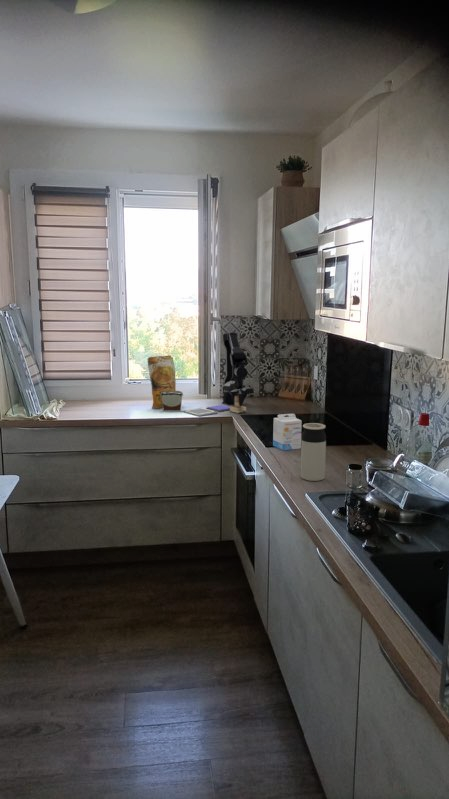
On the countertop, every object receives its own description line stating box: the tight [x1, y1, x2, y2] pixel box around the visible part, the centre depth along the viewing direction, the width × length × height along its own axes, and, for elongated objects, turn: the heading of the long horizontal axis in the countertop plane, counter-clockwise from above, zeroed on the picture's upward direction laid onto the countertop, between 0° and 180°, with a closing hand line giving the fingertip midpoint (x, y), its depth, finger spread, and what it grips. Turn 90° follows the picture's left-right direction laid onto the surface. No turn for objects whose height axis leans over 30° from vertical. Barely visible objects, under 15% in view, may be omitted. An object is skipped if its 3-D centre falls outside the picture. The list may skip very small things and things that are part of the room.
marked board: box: [181, 407, 219, 417], centre depth 288 cm, size 12×15×1 cm
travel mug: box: [300, 422, 327, 482], centre depth 182 cm, size 8×8×18 cm
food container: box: [160, 390, 184, 412], centre depth 295 cm, size 12×6×10 cm, turn 84°
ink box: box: [272, 413, 303, 451], centre depth 220 cm, size 9×8×13 cm
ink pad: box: [205, 404, 231, 413], centre depth 296 cm, size 11×11×1 cm
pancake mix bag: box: [147, 354, 177, 409], centre depth 302 cm, size 7×19×28 cm, turn 133°
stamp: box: [229, 396, 247, 415], centre depth 288 cm, size 6×6×9 cm
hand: (238, 405), depth 288 cm, fingers closed on stamp, 4 cm apart
